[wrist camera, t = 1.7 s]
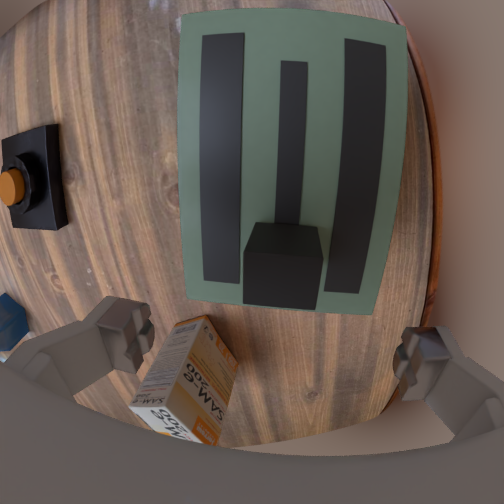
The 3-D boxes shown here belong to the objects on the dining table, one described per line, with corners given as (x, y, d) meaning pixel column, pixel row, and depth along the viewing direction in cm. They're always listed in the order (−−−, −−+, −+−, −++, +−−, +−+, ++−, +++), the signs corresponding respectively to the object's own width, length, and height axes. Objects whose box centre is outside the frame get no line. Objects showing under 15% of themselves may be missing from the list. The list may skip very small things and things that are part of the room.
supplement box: (241, 362, 34) (218, 455, 22) (208, 369, 35) (178, 454, 23) (207, 312, 31) (165, 407, 19) (173, 321, 32) (125, 408, 20)
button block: (13, 137, 25) (-9, 142, 22) (58, 123, 24) (33, 127, 20) (23, 222, 30) (3, 232, 27) (68, 224, 29) (47, 236, 25)
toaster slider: (255, 221, 14) (243, 251, 11) (317, 226, 14) (324, 258, 10) (253, 266, 15) (242, 304, 12) (312, 271, 15) (315, 311, 11)
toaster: (226, 55, 20) (177, 11, 10) (362, 64, 19) (410, 23, 9) (224, 235, 27) (182, 302, 17) (347, 245, 26) (374, 319, 16)
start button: (6, 169, 23) (-4, 173, 22) (23, 166, 23) (12, 170, 21) (11, 201, 25) (1, 206, 23) (27, 200, 24) (17, 205, 23)
